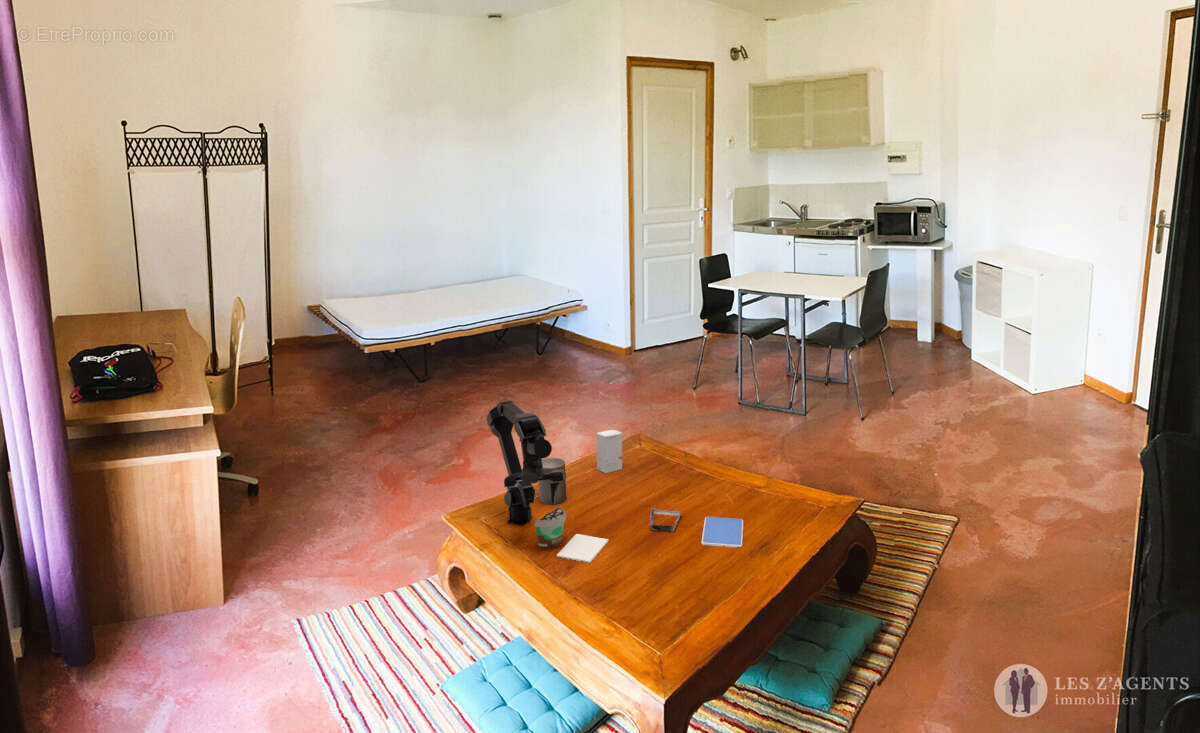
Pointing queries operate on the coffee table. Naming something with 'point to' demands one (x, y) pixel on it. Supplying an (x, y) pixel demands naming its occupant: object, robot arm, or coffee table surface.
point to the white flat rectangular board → (583, 548)
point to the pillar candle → (544, 485)
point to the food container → (551, 528)
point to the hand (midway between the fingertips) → (538, 505)
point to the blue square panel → (722, 532)
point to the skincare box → (609, 451)
